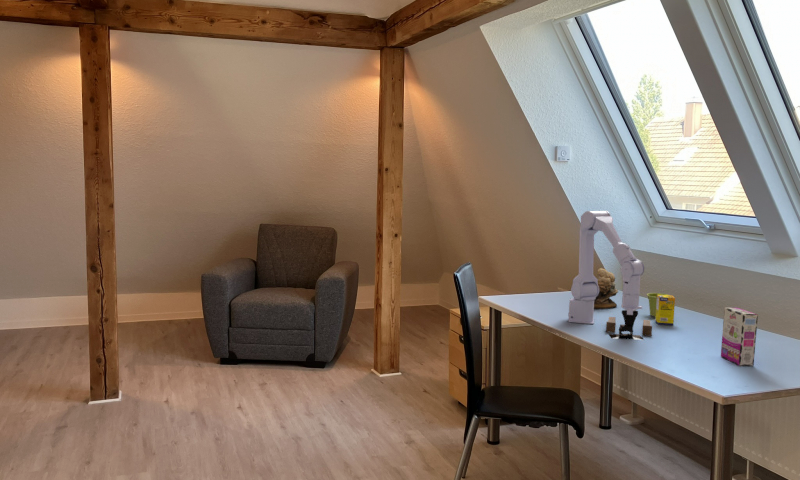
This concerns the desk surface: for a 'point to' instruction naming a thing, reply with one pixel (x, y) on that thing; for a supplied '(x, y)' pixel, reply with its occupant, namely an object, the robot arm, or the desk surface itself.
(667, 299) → the supplement box
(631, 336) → the black bracket
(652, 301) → the plant pot
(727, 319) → the candy bar box
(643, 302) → the desk surface
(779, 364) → the desk surface
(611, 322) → the wooden rail pair
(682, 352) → the desk surface
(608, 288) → the tan lumpy statue
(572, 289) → the robot arm
